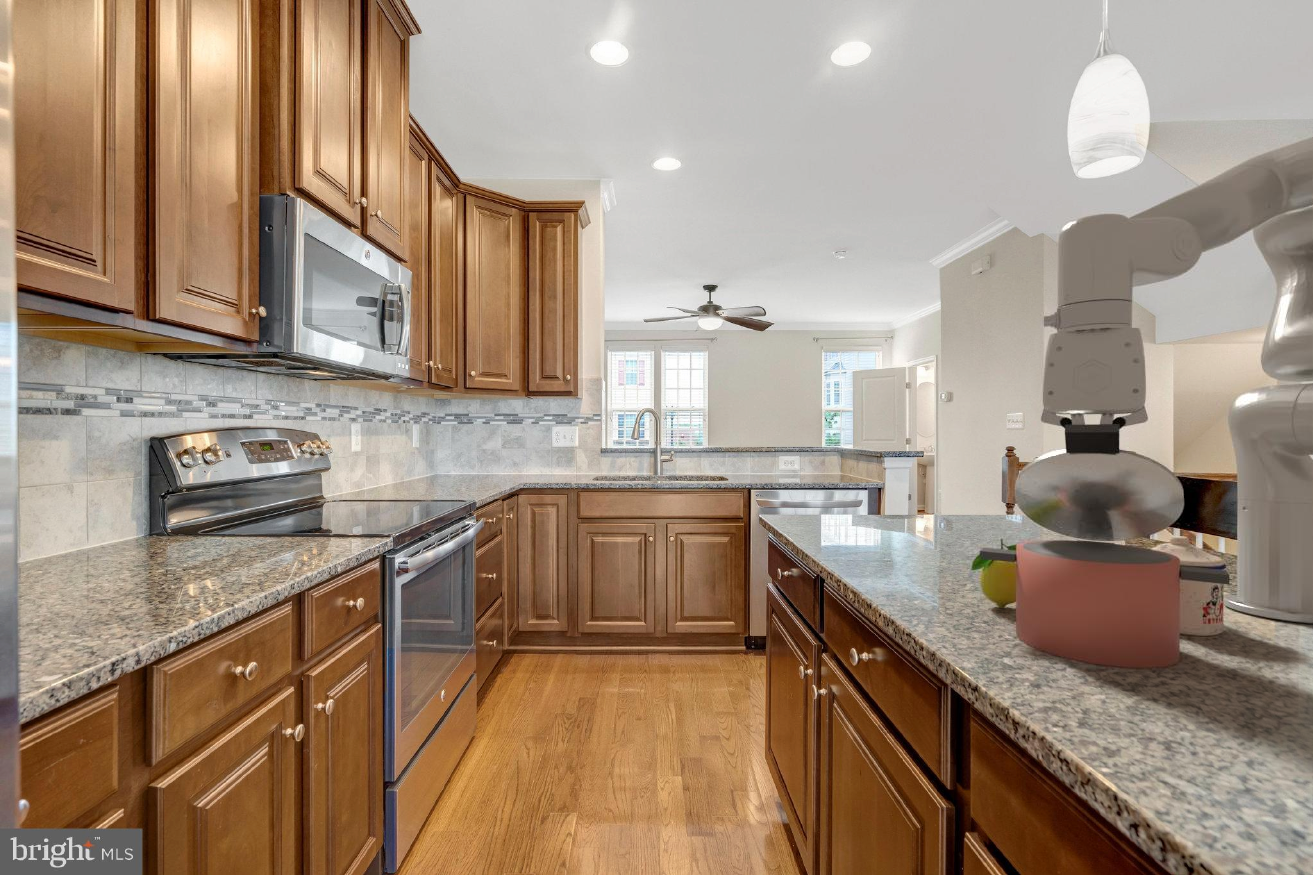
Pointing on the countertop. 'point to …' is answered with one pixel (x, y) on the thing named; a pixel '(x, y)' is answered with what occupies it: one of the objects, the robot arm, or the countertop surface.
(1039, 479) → the cooker lid
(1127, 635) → the cooker pot
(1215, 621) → the teacup with lid
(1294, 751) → the countertop surface
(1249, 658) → the countertop surface
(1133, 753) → the countertop surface
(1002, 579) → the lemon
